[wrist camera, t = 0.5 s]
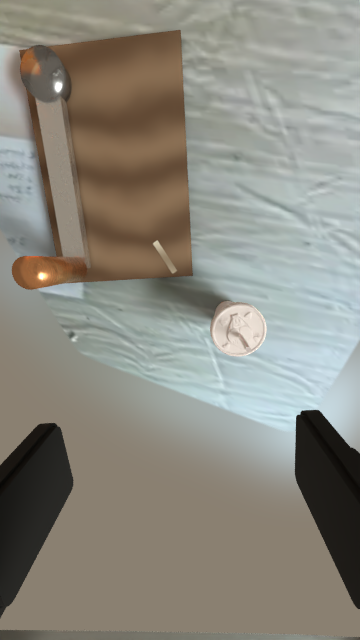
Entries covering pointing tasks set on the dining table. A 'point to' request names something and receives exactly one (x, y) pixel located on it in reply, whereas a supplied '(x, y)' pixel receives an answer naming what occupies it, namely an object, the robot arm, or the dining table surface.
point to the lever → (55, 173)
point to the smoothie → (237, 328)
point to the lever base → (127, 155)
